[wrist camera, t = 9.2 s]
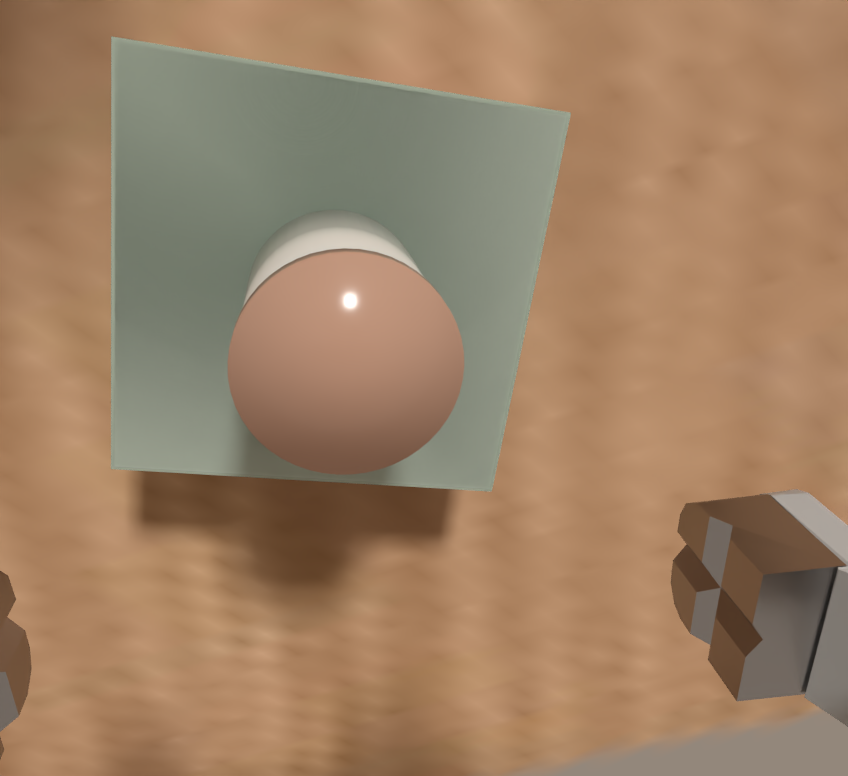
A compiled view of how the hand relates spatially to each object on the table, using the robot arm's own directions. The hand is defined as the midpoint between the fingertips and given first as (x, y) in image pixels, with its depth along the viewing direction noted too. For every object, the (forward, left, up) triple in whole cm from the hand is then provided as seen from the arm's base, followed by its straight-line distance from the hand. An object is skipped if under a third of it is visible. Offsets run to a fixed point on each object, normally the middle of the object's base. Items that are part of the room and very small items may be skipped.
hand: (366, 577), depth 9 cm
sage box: (0, 0, -19) cm, 19 cm away
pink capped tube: (0, 0, -14) cm, 14 cm away
